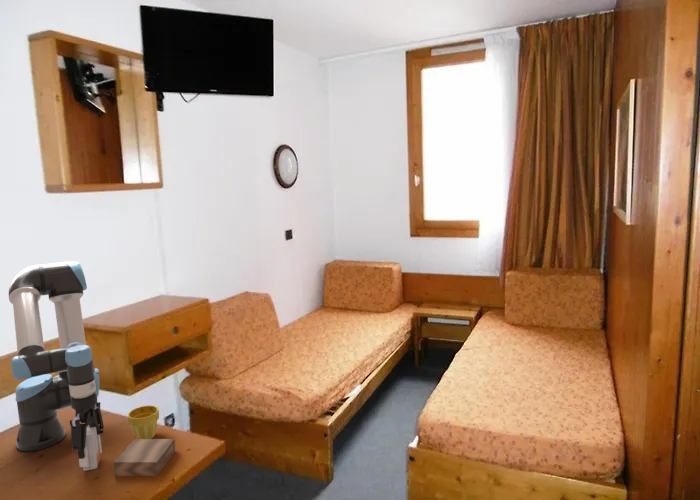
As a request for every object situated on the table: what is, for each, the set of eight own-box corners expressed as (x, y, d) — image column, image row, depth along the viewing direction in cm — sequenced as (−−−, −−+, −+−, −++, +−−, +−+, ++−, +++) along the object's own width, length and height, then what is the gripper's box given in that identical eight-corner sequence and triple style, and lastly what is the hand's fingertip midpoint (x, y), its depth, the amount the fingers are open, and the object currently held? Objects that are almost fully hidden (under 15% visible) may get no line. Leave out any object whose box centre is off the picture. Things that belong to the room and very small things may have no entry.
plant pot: (150, 445, 175) (147, 419, 174) (124, 443, 177) (121, 417, 176) (166, 430, 185) (164, 405, 184) (141, 428, 188) (139, 404, 186)
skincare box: (97, 468, 162) (93, 434, 160) (83, 471, 161) (79, 437, 159) (100, 458, 168) (96, 425, 166) (86, 461, 166) (82, 428, 164)
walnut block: (115, 476, 158) (113, 462, 157) (136, 452, 172) (134, 439, 171) (157, 476, 157) (156, 462, 156) (175, 452, 171) (174, 438, 170)
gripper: (76, 407, 150) (85, 477, 154) (110, 380, 170) (117, 443, 173) (52, 408, 151) (61, 477, 154) (89, 381, 170) (96, 443, 174)
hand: (91, 459), depth 164 cm, fingers closed on skincare box, 7 cm apart
